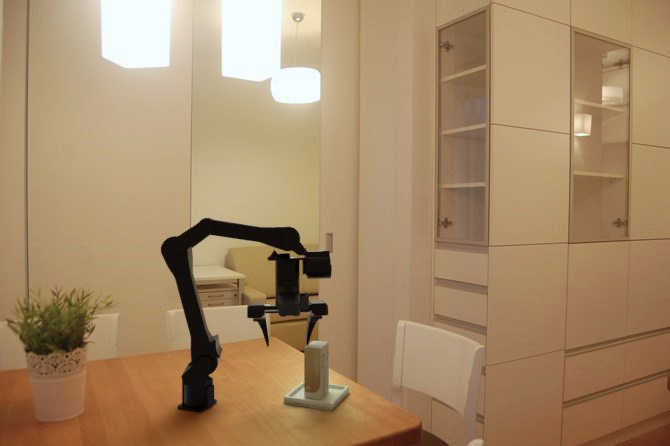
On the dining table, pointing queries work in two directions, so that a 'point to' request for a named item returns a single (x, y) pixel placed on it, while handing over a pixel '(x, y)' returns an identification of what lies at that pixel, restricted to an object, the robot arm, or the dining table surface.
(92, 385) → the dining table surface
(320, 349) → the skincare box
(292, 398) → the sage dish
